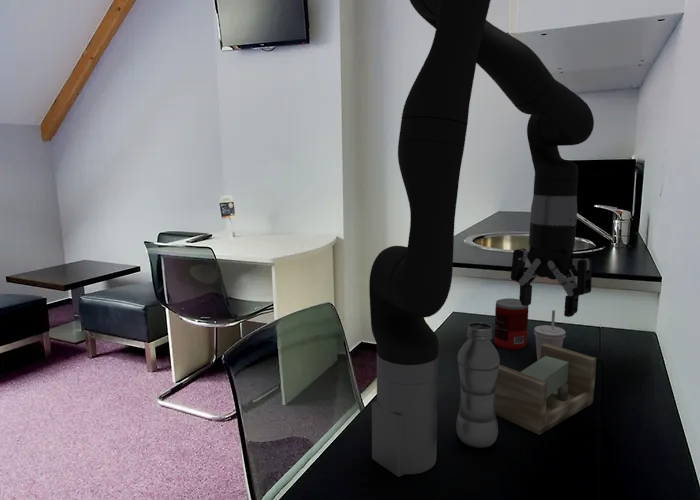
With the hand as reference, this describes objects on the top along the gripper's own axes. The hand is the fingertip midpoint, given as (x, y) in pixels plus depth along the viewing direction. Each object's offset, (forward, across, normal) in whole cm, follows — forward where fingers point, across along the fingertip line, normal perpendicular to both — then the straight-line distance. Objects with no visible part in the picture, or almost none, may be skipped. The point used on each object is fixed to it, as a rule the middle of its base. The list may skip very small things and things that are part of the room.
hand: (546, 310), depth 91 cm
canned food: (+19, -23, +23) cm, 38 cm away
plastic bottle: (+19, 0, -19) cm, 27 cm away
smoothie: (+19, -8, +15) cm, 26 cm away
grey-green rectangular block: (+15, 0, 0) cm, 15 cm away
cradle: (+19, 0, 0) cm, 19 cm away
